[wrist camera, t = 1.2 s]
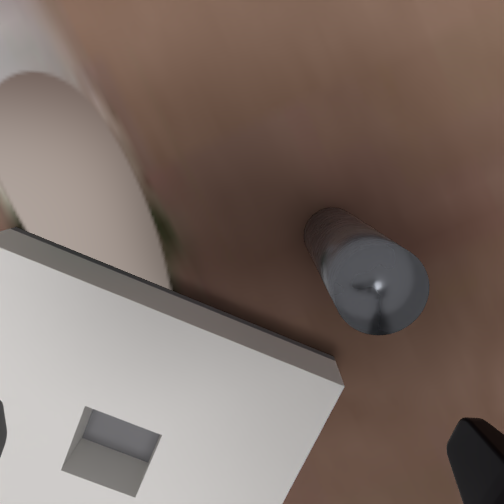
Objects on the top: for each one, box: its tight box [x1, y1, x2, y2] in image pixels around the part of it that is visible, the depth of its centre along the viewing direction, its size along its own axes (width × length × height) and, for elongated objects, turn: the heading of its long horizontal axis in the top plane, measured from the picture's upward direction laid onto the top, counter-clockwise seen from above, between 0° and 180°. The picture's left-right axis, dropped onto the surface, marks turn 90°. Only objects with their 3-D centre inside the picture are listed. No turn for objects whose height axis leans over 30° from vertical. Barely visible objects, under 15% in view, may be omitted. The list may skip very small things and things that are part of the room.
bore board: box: [0, 227, 345, 504], centre depth 22 cm, size 18×16×3 cm
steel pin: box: [304, 208, 429, 335], centre depth 17 cm, size 3×3×9 cm
